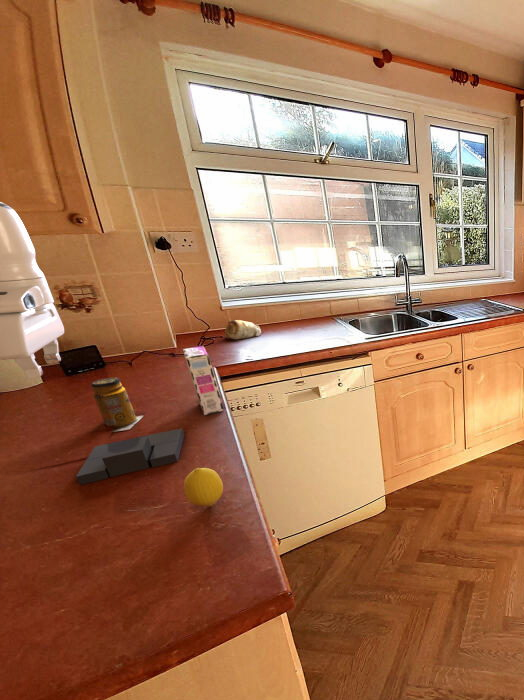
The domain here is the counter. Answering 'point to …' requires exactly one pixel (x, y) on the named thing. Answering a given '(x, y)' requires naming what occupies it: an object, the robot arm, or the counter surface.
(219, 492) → the lemon
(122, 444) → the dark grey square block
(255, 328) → the pastry
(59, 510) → the counter surface
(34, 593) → the counter surface
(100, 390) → the condiment
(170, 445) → the base pad
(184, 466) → the counter surface
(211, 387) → the candy bar box
